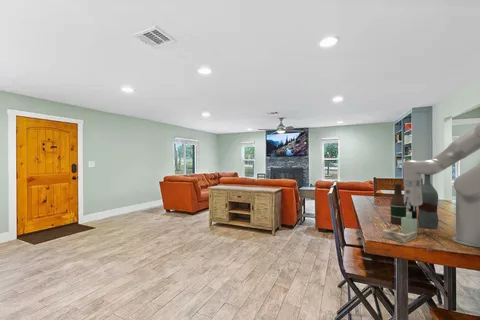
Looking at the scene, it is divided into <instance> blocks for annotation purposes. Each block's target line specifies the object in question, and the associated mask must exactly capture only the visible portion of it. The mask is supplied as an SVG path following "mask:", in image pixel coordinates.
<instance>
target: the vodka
mask: <svg viewBox="0 0 480 320" xmlns="http://www.w3.org/2000/svg"><path fill="white" fill-rule="evenodd" d="M423 175H424V178H423V179H424V181H423V182H424V183H423V184H421V190H422V205H420V206H418V207H417V208H418V211H417V225H418V226H419V227H421V228H424V229H430V230H431V229H433V230H434V229H435V230H436V229H437V228H438V226H439V221H440V220H439V214H438V205H439V193H438V190H436V188H435V187H434V186H433V184H432V183H431V175H426V174H423Z"/></svg>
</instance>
